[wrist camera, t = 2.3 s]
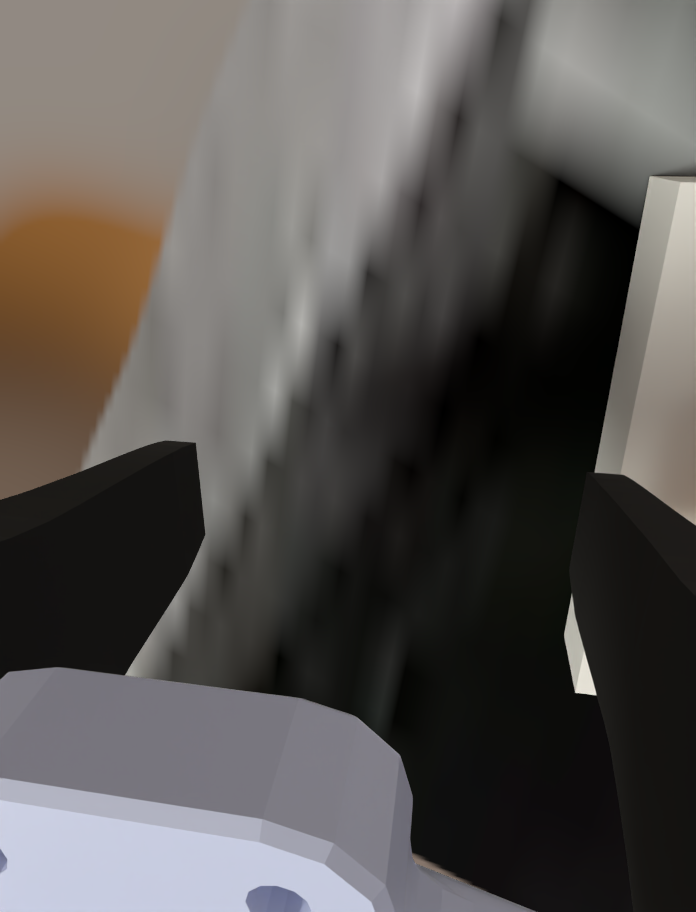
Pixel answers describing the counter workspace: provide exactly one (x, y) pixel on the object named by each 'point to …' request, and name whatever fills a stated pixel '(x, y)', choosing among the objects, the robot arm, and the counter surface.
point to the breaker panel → (654, 371)
